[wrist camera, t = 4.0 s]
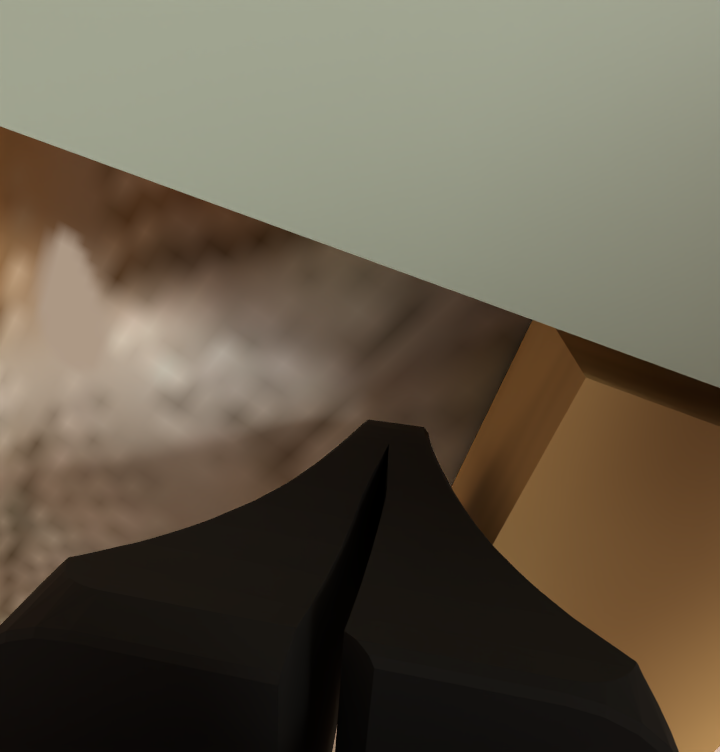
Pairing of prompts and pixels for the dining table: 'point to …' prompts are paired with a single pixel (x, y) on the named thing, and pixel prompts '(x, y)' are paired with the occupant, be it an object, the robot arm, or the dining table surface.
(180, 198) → the dining table surface
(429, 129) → the lid
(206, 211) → the dining table surface
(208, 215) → the dining table surface
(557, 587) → the tan block
